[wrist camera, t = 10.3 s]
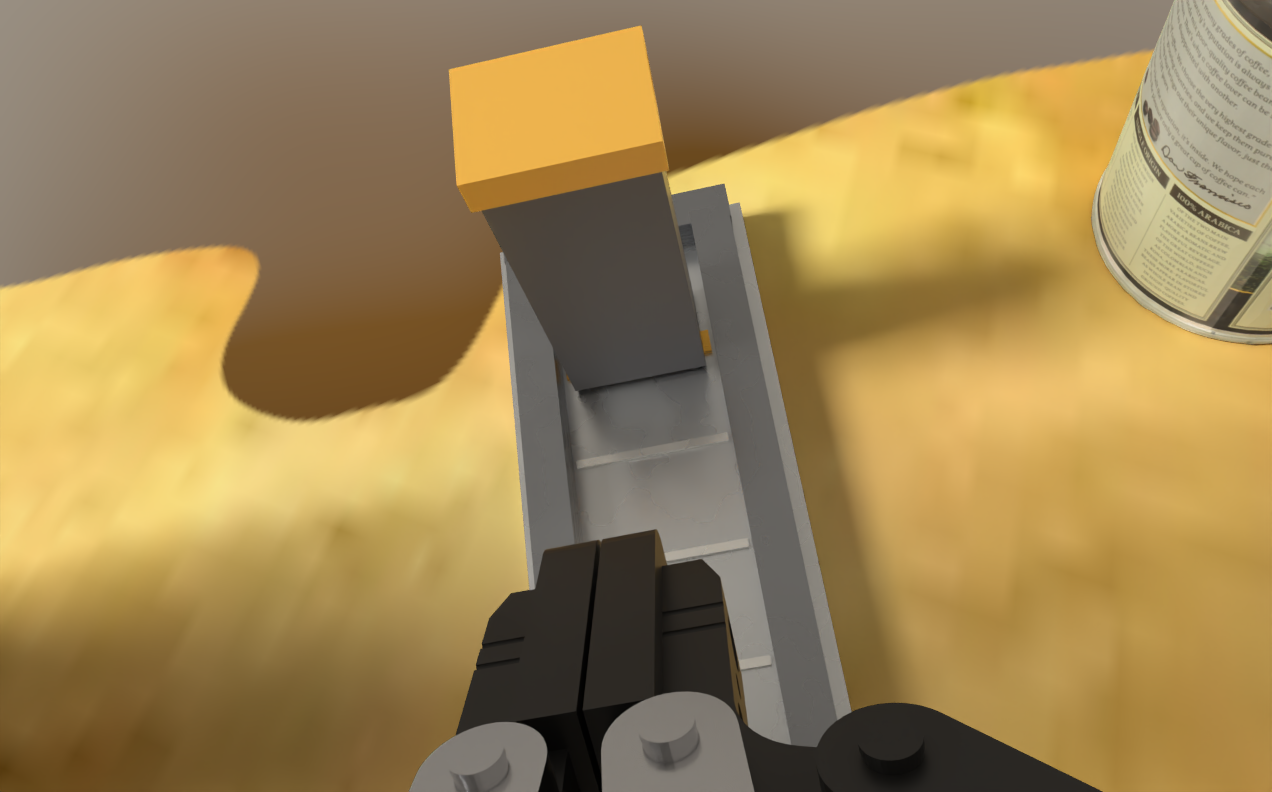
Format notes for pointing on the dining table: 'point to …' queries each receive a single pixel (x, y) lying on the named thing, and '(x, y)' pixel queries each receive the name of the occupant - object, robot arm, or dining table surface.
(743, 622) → the fader console
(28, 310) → the dining table surface
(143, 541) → the dining table surface
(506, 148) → the fader tab
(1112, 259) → the coffee can
